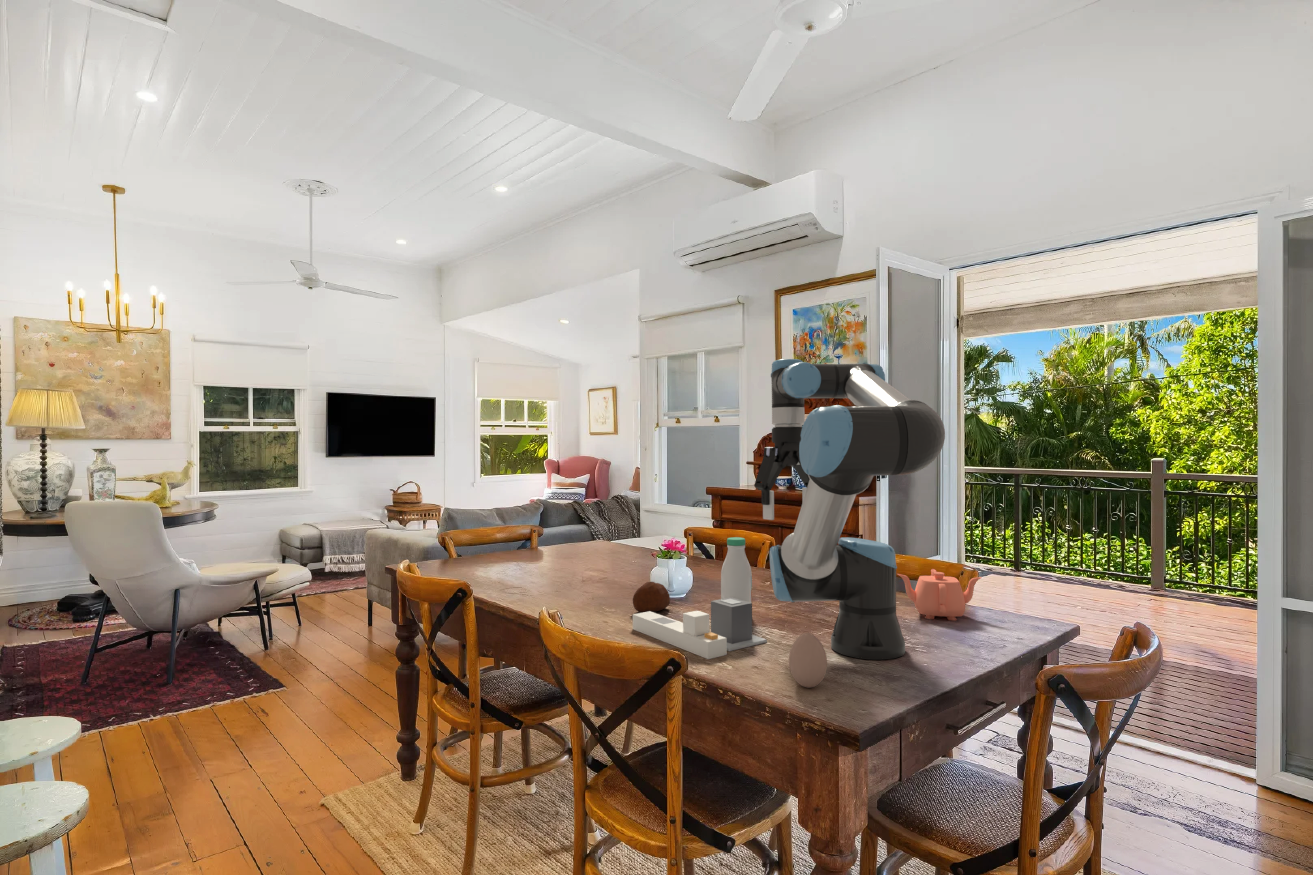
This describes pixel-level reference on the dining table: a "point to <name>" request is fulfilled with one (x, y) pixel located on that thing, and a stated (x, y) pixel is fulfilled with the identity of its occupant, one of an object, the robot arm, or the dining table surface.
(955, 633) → the dining table surface
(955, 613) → the teapot
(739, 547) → the milk bottle
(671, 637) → the power strip
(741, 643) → the mat
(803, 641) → the egg
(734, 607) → the block
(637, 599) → the potato
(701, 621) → the white plug
